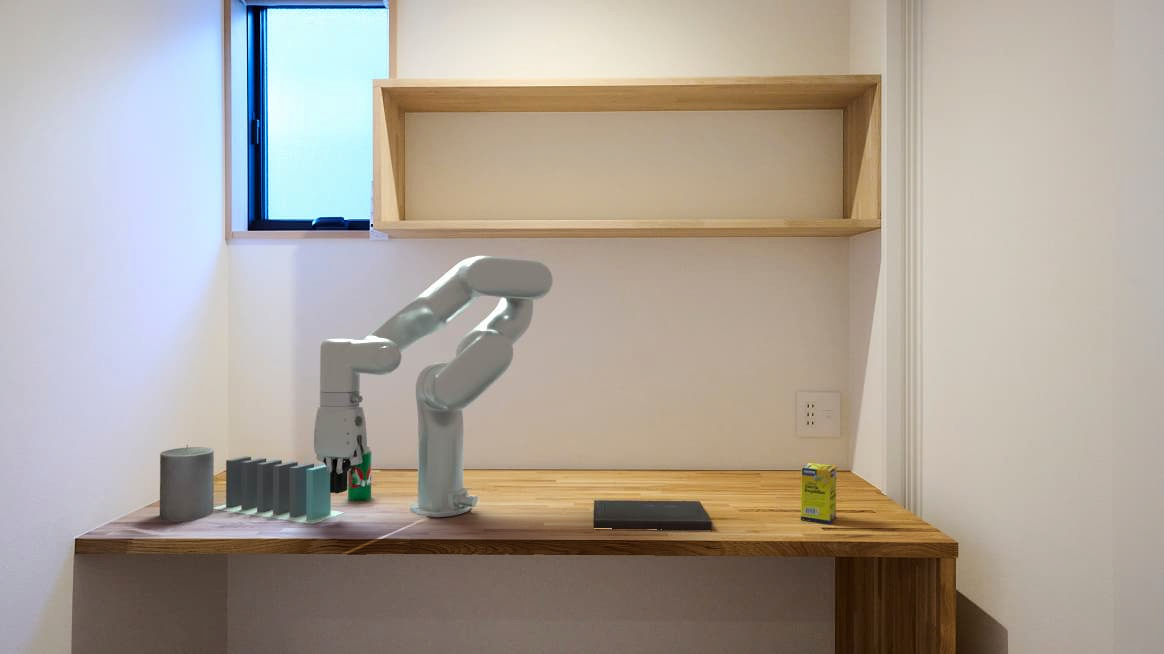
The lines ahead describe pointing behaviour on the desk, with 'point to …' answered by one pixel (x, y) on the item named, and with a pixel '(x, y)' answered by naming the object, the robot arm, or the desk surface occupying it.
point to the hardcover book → (650, 515)
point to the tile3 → (282, 487)
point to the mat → (283, 516)
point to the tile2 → (298, 489)
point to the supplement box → (818, 492)
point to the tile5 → (249, 483)
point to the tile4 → (265, 485)
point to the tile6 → (234, 481)
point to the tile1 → (318, 492)
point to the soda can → (360, 479)
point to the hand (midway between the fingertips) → (338, 491)
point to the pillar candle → (186, 483)
